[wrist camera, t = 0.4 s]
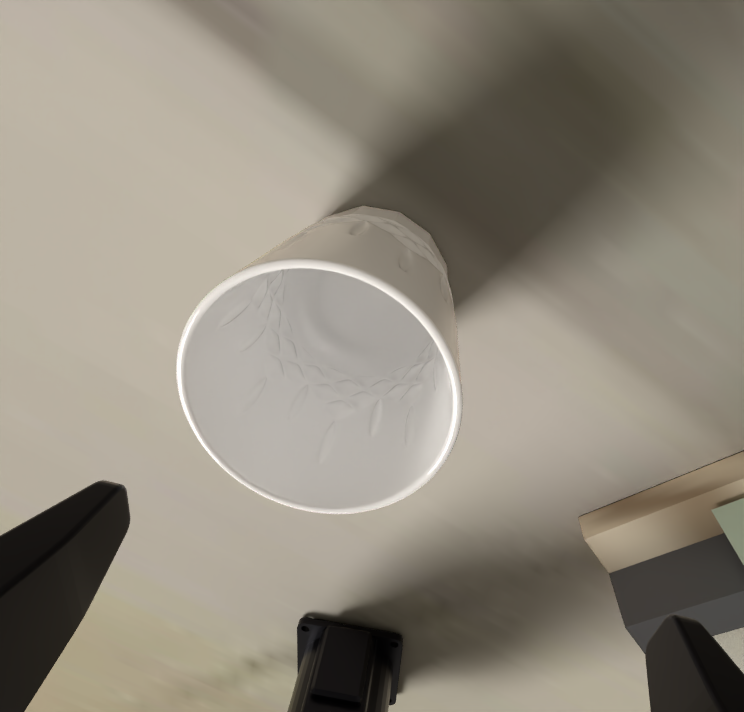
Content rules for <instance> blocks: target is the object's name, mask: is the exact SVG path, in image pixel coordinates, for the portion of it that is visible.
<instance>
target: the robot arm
mask: <svg viewBox="0 0 744 712" xmlns="http://www.w3.org/2000/svg"><path fill="white" fill-rule="evenodd" d="M129 524H130V512H129V504H128V497H127V491H126V488H125V487H124V486H123V485H121V484H118V483H113V482H109V481H98V482H96V483H94V484H92V485H90V486H88V487H86V488H85V489H83V490H81V491H79V492H77V493H76V494H74V495H72V496H70V497H69V498H67V499H65V500H63V501H61V502H60V503H58V504H56V505H54V506H52V507H51V508H49V509H47V510H45V511H44V512H42V513H40V514H38V515H36V516H35V517H33V518H31V519H29V520H27V521H26V522H24V523H22V524H20V525H18V526H17V527H15V528H13V529H11V530H10V531H8V532H6V533H4V534H2V535H1V536H0V712H24V711H25V710H26V708H27V706H28V705H29V703H30V702H31V700H32V699H33V697H34V695H35V694H36V692H37V691H38V689H39V687H40V686H41V684H42V683H43V681H44V680H45V678H46V676H47V675H48V673H49V672H50V670H51V669H52V667H53V665H54V664H55V662H56V661H57V659H58V658H59V656H60V654H61V653H62V651H63V650H64V648H65V647H66V645H67V643H68V642H69V640H70V639H71V637H72V636H73V634H74V632H75V631H76V629H77V627H78V626H79V624H80V622H81V621H82V619H83V617H84V616H85V614H86V612H87V610H88V608H89V606H90V604H91V602H92V600H93V598H94V596H95V594H96V593H97V591H98V589H99V587H100V585H101V583H102V581H103V579H104V577H105V575H106V573H107V571H108V569H109V567H110V565H111V563H112V561H113V559H114V557H115V555H116V553H117V551H118V549H119V547H120V545H121V543H122V541H123V539H124V537H125V535H126V533H127V531H128V528H129ZM402 646H403V638H402V636H401V635H399V634H396V633H391V632H386V631H380V630H374V629H368V628H363V627H357V626H351V625H346V624H340V623H334V622H328V621H323V620H317V619H311V618H301V619H300V620H299V624H298V627H297V648H298V677H297V680H296V684H295V687H294V691H293V694H292V698H291V701H290V705H289V708H288V712H388V707H389V705H393V704H395V702H396V695H397V687H398V679H399V671H400V663H401V655H402ZM645 656H646V667H647V677H648V687H649V697H650V707H651V712H744V674H743V673H742V671H741V670H740V669H739V668H738V667H737V665H736V664H735V663H734V662H733V661H732V659H731V658H730V657H729V656H728V655H727V653H726V652H725V651H724V650H723V649H722V647H721V646H720V645H719V644H718V643H717V641H716V640H715V639H714V638H713V637H712V635H711V634H710V633H709V632H708V631H707V629H706V628H705V627H704V626H703V625H702V624H701V623H700V622H699V621H697V620H695V619H692V618H688V617H684V616H679V615H675V614H671V615H668V616H667V617H666V618H665V619H664V620H663V622H662V623H661V625H660V626H659V627H658V629H657V630H656V631H655V633H654V634H653V635H652V637H651V638H650V640H649V641H648V644H647V646H646V655H645Z"/></svg>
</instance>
